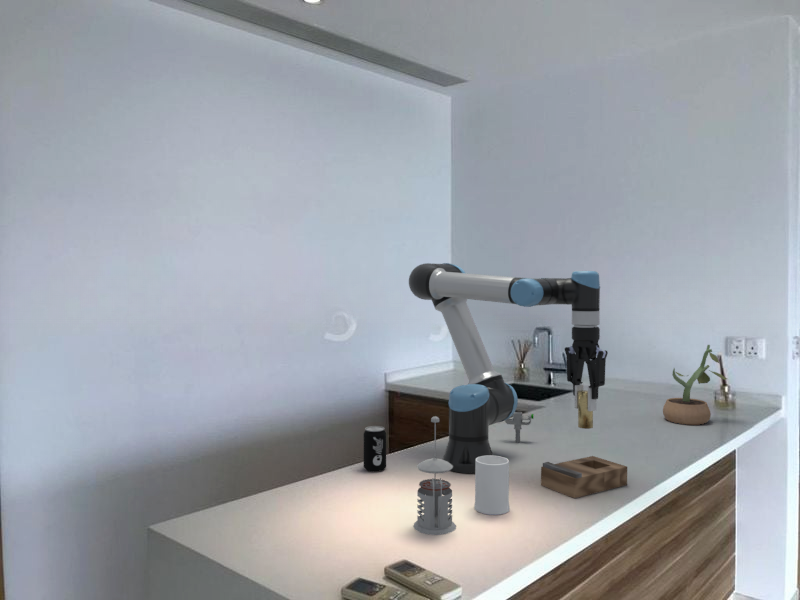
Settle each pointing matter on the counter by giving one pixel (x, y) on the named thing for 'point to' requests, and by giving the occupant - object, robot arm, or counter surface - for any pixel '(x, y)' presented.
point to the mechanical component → (518, 423)
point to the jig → (583, 476)
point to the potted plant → (685, 407)
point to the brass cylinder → (584, 411)
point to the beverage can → (374, 448)
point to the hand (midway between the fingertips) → (585, 409)
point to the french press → (434, 498)
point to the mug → (492, 485)
